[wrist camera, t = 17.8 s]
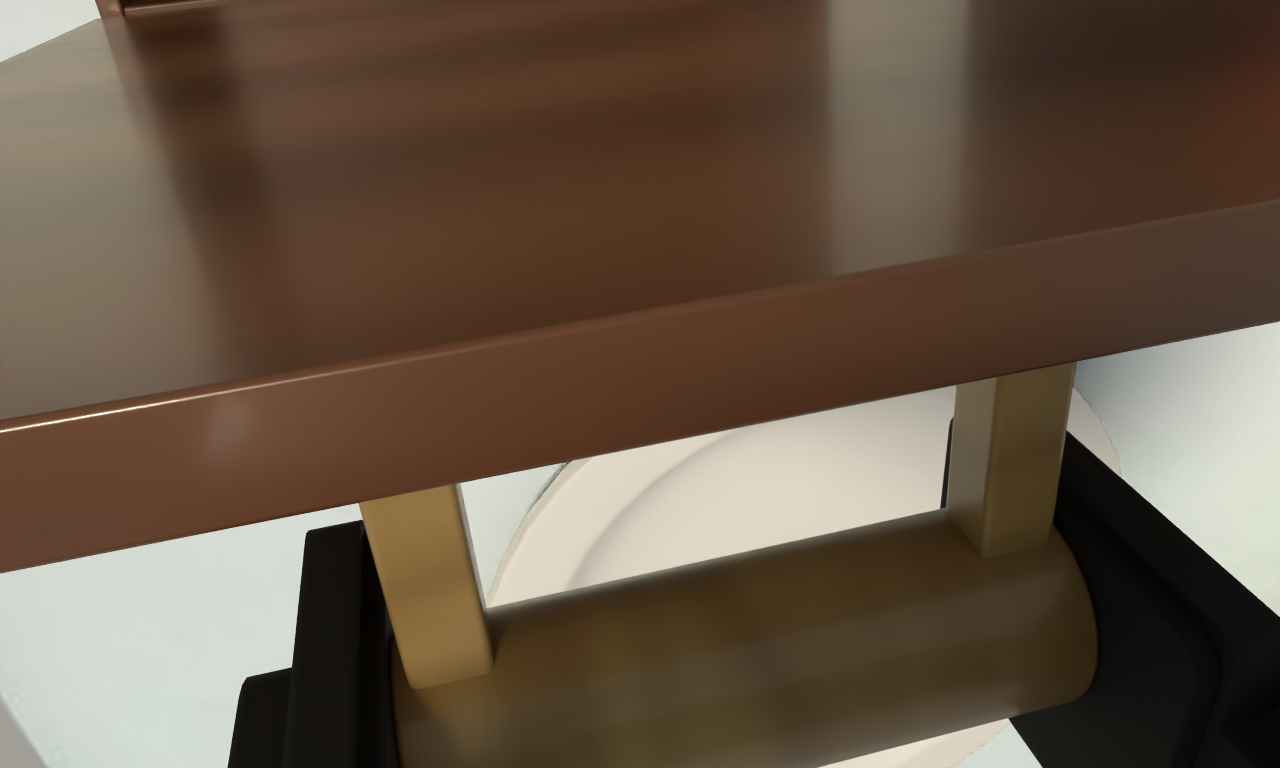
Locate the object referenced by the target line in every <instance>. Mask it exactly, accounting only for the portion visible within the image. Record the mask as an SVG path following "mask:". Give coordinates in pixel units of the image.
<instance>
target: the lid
mask: <svg viewBox="0 0 1280 768" xmlns="http://www.w3.org/2000/svg"><path fill="white" fill-rule="evenodd" d="M1279 321H1280V0H260V1H251V2H242V3H233V4H225V5H216V6H207V7H198V8H189V9H180V10H171V11H162V12H154V13H145V14H136V15H127V16H118V17H109V18H100V19H95V20H93V21H91V22H89V23H87V24H84V25H82V26H80V27H78V28H76V29H73V30H71V31H69V32H67V33H65V34H62V35H60V36H58V37H56V38H54V39H51V40H49V41H47V42H45V43H43V44H40V45H38V46H36V47H34V48H31V49H29V50H27V51H25V52H23V53H20V54H18V55H16V56H14V57H12V58H9V59H7V60H5V61H3V62H1V63H0V573H5V572H10V571H15V570H20V569H25V568H30V567H35V566H41V565H46V564H51V563H56V562H61V561H66V560H71V559H76V558H81V557H86V556H91V555H96V554H101V553H107V552H112V551H117V550H122V549H127V548H132V547H137V546H142V545H147V544H152V543H157V542H162V541H167V540H172V539H178V538H183V537H188V536H193V535H198V534H203V533H208V532H213V531H218V530H223V529H228V528H233V527H238V526H244V525H249V524H254V523H259V522H264V521H269V520H274V519H279V518H284V517H289V516H294V515H299V514H304V513H310V512H315V511H320V510H325V509H330V508H335V507H340V506H345V505H350V504H355V503H359V507H360V510H361V514H362V518H363V521H364V525H365V529H366V532H367V536H368V540H369V543H370V547H371V551H372V554H373V558H374V562H375V565H376V569H377V572H378V576H379V580H380V583H381V587H382V591H383V594H384V598H385V602H386V605H387V609H388V613H389V616H390V620H391V624H392V627H393V631H394V632H393V635H392V638H391V644H390V662H389V665H390V690H391V703H392V714H393V723H394V732H395V739H396V747H397V754H398V760H399V767H400V768H818V767H822V766H826V765H830V764H834V763H838V762H842V761H845V760H849V759H853V758H857V757H861V756H865V755H868V754H872V753H876V752H880V751H884V750H888V749H892V748H895V747H899V746H903V745H907V744H911V743H915V742H918V741H922V740H926V739H930V738H934V737H938V736H942V735H945V734H949V733H953V732H957V731H961V730H965V729H968V728H972V727H976V726H980V725H984V724H988V723H991V722H995V721H999V720H1003V719H1007V718H1011V717H1015V716H1018V715H1022V714H1026V713H1030V712H1034V711H1038V710H1041V709H1045V708H1049V707H1053V706H1057V705H1061V704H1065V703H1068V702H1072V701H1074V700H1076V699H1078V698H1079V697H1081V696H1082V695H1083V694H1084V693H1085V692H1086V691H1087V690H1088V688H1089V687H1090V686H1091V684H1092V681H1093V679H1094V677H1095V673H1096V670H1097V665H1098V657H1099V638H1098V627H1097V621H1096V615H1095V610H1094V606H1093V602H1092V598H1091V595H1090V592H1089V589H1088V585H1087V583H1086V580H1085V578H1084V575H1083V573H1082V570H1081V568H1080V566H1079V564H1078V562H1077V560H1076V557H1075V556H1074V554H1073V552H1072V550H1071V548H1070V547H1069V545H1068V543H1067V542H1066V540H1065V539H1064V537H1063V536H1062V534H1061V533H1060V531H1059V530H1058V529H1057V528H1056V526H1055V525H1054V524H1053V517H1054V511H1055V504H1056V497H1057V490H1058V484H1059V477H1060V470H1061V463H1062V457H1063V450H1064V443H1065V436H1066V430H1067V423H1068V416H1069V409H1070V403H1071V396H1072V389H1073V383H1074V376H1075V369H1076V362H1077V361H1081V360H1086V359H1091V358H1096V357H1101V356H1106V355H1112V354H1117V353H1122V352H1127V351H1132V350H1137V349H1142V348H1147V347H1152V346H1157V345H1162V344H1167V343H1172V342H1178V341H1183V340H1188V339H1193V338H1198V337H1203V336H1208V335H1213V334H1218V333H1223V332H1228V331H1233V330H1238V329H1244V328H1249V327H1254V326H1259V325H1264V324H1269V323H1274V322H1279ZM954 385H956V394H955V406H954V418H953V430H952V442H951V454H950V466H949V479H948V491H947V503H946V508H942V509H938V510H933V511H928V512H924V513H919V514H915V515H910V516H906V517H901V518H897V519H892V520H887V521H883V522H878V523H874V524H869V525H865V526H860V527H855V528H851V529H846V530H842V531H837V532H833V533H828V534H823V535H819V536H814V537H810V538H805V539H801V540H796V541H791V542H787V543H782V544H778V545H773V546H769V547H764V548H759V549H755V550H750V551H746V552H741V553H737V554H732V555H727V556H723V557H718V558H714V559H709V560H705V561H700V562H696V563H691V564H686V565H682V566H677V567H673V568H668V569H664V570H659V571H654V572H650V573H645V574H641V575H636V576H632V577H627V578H622V579H618V580H613V581H609V582H604V583H600V584H595V585H590V586H586V587H581V588H577V589H572V590H568V591H563V592H558V593H554V594H549V595H545V596H540V597H536V598H531V599H527V600H522V601H517V602H513V603H508V604H504V605H499V606H495V607H490V608H486V604H485V600H484V595H483V590H482V585H481V581H480V576H479V571H478V566H477V562H476V557H475V552H474V547H473V542H472V538H471V533H470V528H469V523H468V519H467V514H466V509H465V504H464V499H463V495H462V490H461V485H460V483H462V482H467V481H472V480H477V479H482V478H487V477H492V476H497V475H502V474H508V473H513V472H518V471H523V470H528V469H533V468H538V467H543V466H548V465H553V464H558V463H563V462H568V461H574V460H579V459H584V458H589V457H594V456H599V455H604V454H609V453H614V452H619V451H624V450H629V449H634V448H639V447H645V446H650V445H655V444H660V443H665V442H670V441H675V440H680V439H685V438H690V437H695V436H700V435H705V434H711V433H716V432H721V431H726V430H731V429H736V428H741V427H746V426H751V425H756V424H761V423H766V422H771V421H777V420H782V419H787V418H792V417H797V416H802V415H807V414H812V413H817V412H822V411H827V410H832V409H837V408H843V407H848V406H853V405H858V404H863V403H868V402H873V401H878V400H883V399H888V398H893V397H898V396H903V395H909V394H914V393H919V392H924V391H929V390H934V389H939V388H944V387H949V386H954Z"/></svg>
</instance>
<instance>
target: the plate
mask: <svg viewBox="0 0 1280 768" xmlns="http://www.w3.org/2000/svg"><path fill="white" fill-rule="evenodd" d="M955 394H956V385H954V386H949V387H944V388H939V389H934V390H929V391H924V392H919V393H914V394H909V395H903V396H898V397H893V398H888V399H883V400H878V401H873V402H868V403H863V404H858V405H853V406H848V407H843V408H837V409H832V410H827V411H822V412H817V413H812V414H807V415H802V416H797V417H792V418H787V419H782V420H777V421H771V422H766V423H761V424H756V425H751V426H746V427H741V428H736V429H731V430H726V431H721V432H716V433H711V434H705V435H700V436H695V437H690V438H685V439H680V440H675V441H670V442H665V443H660V444H655V445H650V446H645V447H639V448H634V449H629V450H624V451H619V452H614V453H609V454H604V455H599V456H594V457H589V458H584V459H579V460H574V461H571V462H570V463H569V464H568V465H567V466H566V467H565V468H564V469H563V470H562V471H561V472H560V473H559V474H558V476H557V477H556V478H555V480H554V481H553V482H552V483H551V485H550V486H549V487H548V488H547V490H546V491H545V492H544V493H543V495H542V496H541V497H540V498H539V500H538V501H537V502H536V504H535V505H534V506H533V507H532V509H531V510H530V511H529V512H528V514H527V515H526V517H525V518H524V520H523V522H522V524H521V526H520V527H519V529H518V531H517V533H516V534H515V536H514V538H513V540H512V542H511V543H510V545H509V547H508V549H507V550H506V552H505V554H504V556H503V558H502V559H501V562H500V564H499V567H498V570H497V573H496V576H495V579H494V582H493V584H492V587H491V590H490V593H489V596H488V599H487V602H486V608H490V607H495V606H499V605H504V604H508V603H513V602H517V601H522V600H527V599H531V598H536V597H540V596H545V595H549V594H554V593H558V592H563V591H568V590H572V589H577V588H581V587H586V586H590V585H595V584H600V583H604V582H609V581H613V580H618V579H622V578H627V577H632V576H636V575H641V574H645V573H650V572H654V571H659V570H664V569H668V568H673V567H677V566H682V565H686V564H691V563H696V562H700V561H705V560H709V559H714V558H718V557H723V556H727V555H732V554H737V553H741V552H746V551H750V550H755V549H759V548H764V547H769V546H773V545H778V544H782V543H787V542H791V541H796V540H801V539H805V538H810V537H814V536H819V535H823V534H828V533H833V532H837V531H842V530H846V529H851V528H855V527H860V526H865V525H869V524H874V523H878V522H883V521H887V520H892V519H897V518H901V517H906V516H910V515H915V514H919V513H924V512H928V511H933V510H938V509H940V504H941V495H942V486H943V477H944V468H945V459H946V450H947V441H948V432H949V425H950V421H951V419H952V418H953V416H954V406H955ZM1067 431H1068V432H1070V433H1071V434H1072V435H1073V436H1074V437H1075V438H1076V439H1078V440H1079V441H1080V442H1081V443H1082V444H1083V445H1084V446H1085V447H1087V448H1088V449H1089V450H1090V451H1091V452H1092V453H1093V454H1095V455H1096V456H1097V457H1098V458H1099V459H1100V460H1101V461H1103V462H1104V463H1105V464H1106V465H1107V466H1108V467H1109V468H1110V469H1112V470H1113V471H1114V472H1115V473H1116V474H1117V475H1118V476H1120V477H1121V474H1120V469H1119V464H1118V459H1117V455H1116V452H1115V450H1114V448H1113V446H1112V443H1111V441H1110V439H1109V437H1108V435H1107V433H1106V431H1105V428H1104V426H1103V424H1102V422H1101V420H1100V419H1099V417H1098V416H1097V415H1096V414H1095V412H1094V411H1093V410H1092V409H1091V407H1090V406H1089V405H1088V404H1087V402H1086V401H1085V400H1084V399H1083V397H1082V396H1081V395H1080V394H1079V392H1078V391H1077V390H1076V389H1075V388H1074V387H1073V389H1072V396H1071V403H1070V409H1069V416H1068V423H1067ZM1010 723H1011V722H1010V720H1009V719H1008V718H1007V719H1003V720H999V721H995V722H991V723H988V724H984V725H980V726H976V727H972V728H968V729H965V730H961V731H957V732H953V733H949V734H945V735H942V736H938V737H934V738H930V739H926V740H922V741H918V742H915V743H911V744H907V745H903V746H899V747H895V748H892V749H888V750H884V751H880V752H876V753H872V754H868V755H865V756H861V757H857V758H853V759H849V760H845V761H842V762H838V763H834V764H830V765H826V766H822V767H818V768H952V767H954V766H955V765H957V764H959V763H960V762H962V761H963V760H965V759H966V758H967V757H969V756H970V755H971V754H973V753H974V752H975V751H977V750H978V749H979V748H981V747H982V746H983V745H984V744H986V743H987V742H988V741H990V740H991V739H992V738H994V737H995V736H996V735H998V734H999V733H1000V732H1001V731H1002V730H1003V729H1004V728H1005V727H1007V726H1008V725H1009V724H1010Z"/></svg>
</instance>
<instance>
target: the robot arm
mask: <svg viewBox="0 0 1280 768" xmlns="http://www.w3.org/2000/svg"><path fill="white" fill-rule="evenodd" d="M953 418H954V416H953ZM953 418H952V419H951V421H950V425H949V432H948V441H947V450H946V459H945V468H944V477H943V486H942V495H941V504H940V509H942V508H946V503H947V491H948V479H949V466H950V454H951V442H952V430H953ZM1053 524H1054V525H1055V526H1056V528H1057V529H1058V530H1059V531H1060V533H1061V534H1062V536H1063V537H1064V539H1065V540H1066V542H1067V543H1068V545H1069V547H1070V548H1071V550H1072V552H1073V554H1074V556H1075V557H1076V560H1077V562H1078V564H1079V566H1080V568H1081V570H1082V573H1083V575H1084V578H1085V580H1086V583H1087V585H1088V589H1089V592H1090V595H1091V598H1092V602H1093V606H1094V610H1095V615H1096V621H1097V627H1098V638H1099V657H1098V665H1097V670H1096V673H1095V677H1094V679H1093V681H1092V684H1091V686H1090V687H1089V688H1088V690H1087V691H1086V692H1085V693H1084V694H1083V695H1082V696H1081V697H1079V698H1078V699H1076V700H1074V701H1072V702H1068V703H1065V704H1061V705H1057V706H1053V707H1049V708H1045V709H1041V710H1038V711H1034V712H1030V713H1026V714H1022V715H1018V716H1015V717H1011V718H1008V719H1009V720H1010V722H1011V723H1012V725H1013V726H1014V728H1015V729H1016V730H1017V732H1018V733H1019V735H1020V736H1021V737H1022V739H1023V740H1024V742H1025V743H1026V745H1027V746H1028V747H1029V749H1030V750H1031V752H1032V753H1033V755H1034V756H1035V757H1036V759H1037V760H1038V762H1039V763H1040V764H1041V766H1042V767H1043V768H1280V617H1279V616H1278V615H1277V614H1275V613H1274V612H1273V611H1272V610H1271V609H1270V608H1269V607H1267V606H1266V605H1265V604H1264V603H1263V602H1262V601H1261V600H1259V599H1258V598H1257V597H1256V596H1255V595H1254V594H1253V593H1252V592H1250V591H1249V590H1248V589H1247V588H1246V587H1245V586H1244V585H1242V584H1241V583H1240V582H1239V581H1238V580H1237V579H1236V578H1234V577H1233V576H1232V575H1231V574H1230V573H1229V572H1228V571H1226V570H1225V569H1224V568H1223V567H1222V566H1221V565H1220V564H1219V563H1217V562H1216V561H1215V560H1214V559H1213V558H1212V557H1211V556H1209V555H1208V554H1207V553H1206V552H1205V551H1204V550H1203V549H1201V548H1200V547H1199V546H1198V545H1197V544H1196V543H1195V542H1194V541H1192V540H1191V539H1190V538H1189V537H1188V536H1187V535H1186V534H1184V533H1183V532H1182V531H1181V530H1180V529H1179V528H1178V527H1176V526H1175V525H1174V524H1173V523H1172V522H1171V521H1170V520H1168V519H1167V518H1166V517H1165V516H1164V515H1163V514H1162V513H1161V512H1159V511H1158V510H1157V509H1156V508H1155V507H1154V506H1153V505H1151V504H1150V503H1149V502H1148V501H1147V500H1146V499H1145V498H1143V497H1142V496H1141V495H1140V494H1139V493H1138V492H1137V491H1136V490H1134V489H1133V488H1132V487H1131V486H1130V485H1129V484H1128V483H1126V482H1125V481H1124V480H1123V479H1122V478H1121V477H1120V476H1118V475H1117V474H1116V473H1115V472H1114V471H1113V470H1112V469H1110V468H1109V467H1108V466H1107V465H1106V464H1105V463H1104V462H1103V461H1101V460H1100V459H1099V458H1098V457H1097V456H1096V455H1095V454H1093V453H1092V452H1091V451H1090V450H1089V449H1088V448H1087V447H1085V446H1084V445H1083V444H1082V443H1081V442H1080V441H1079V440H1078V439H1076V438H1075V437H1074V436H1073V435H1072V434H1071V433H1070V432H1068V431H1067V430H1066V436H1065V443H1064V450H1063V457H1062V463H1061V470H1060V477H1059V484H1058V490H1057V497H1056V504H1055V511H1054V517H1053ZM393 632H394V631H393V627H392V624H391V620H390V616H389V613H388V609H387V605H386V602H385V598H384V594H383V591H382V587H381V583H380V580H379V576H378V572H377V569H376V565H375V562H374V558H373V554H372V551H371V547H370V543H369V540H368V536H367V532H366V529H365V525H364V521H363V520H359V521H353V522H348V523H343V524H338V525H333V526H328V527H323V528H318V529H313V530H309V531H308V532H307V533H306V538H305V546H304V556H303V566H302V576H301V585H300V595H299V605H298V615H297V624H296V634H295V644H294V654H293V663H292V668H287V669H283V670H278V671H273V672H269V673H264V674H260V675H255V676H251V677H247V678H246V680H245V681H244V683H243V684H242V688H241V691H240V695H239V700H238V706H237V712H236V719H235V725H234V731H233V737H232V744H231V750H230V756H229V762H228V768H400V767H399V760H398V754H397V747H396V739H395V732H394V723H393V714H392V703H391V690H390V665H389V662H390V644H391V638H392V635H393Z"/></svg>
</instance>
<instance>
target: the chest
mask: <svg viewBox="0 0 1280 768" xmlns="http://www.w3.org/2000/svg"><path fill="white" fill-rule="evenodd" d="M251 1H260V0H95V2H96V4H97V7H98V10H99V13H100V16H101V18H109V17H118V16H127V15H136V14H145V13H154V12H162V11H171V10H180V9H189V8H198V7H207V6H216V5H225V4H233V3H242V2H251Z"/></svg>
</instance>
